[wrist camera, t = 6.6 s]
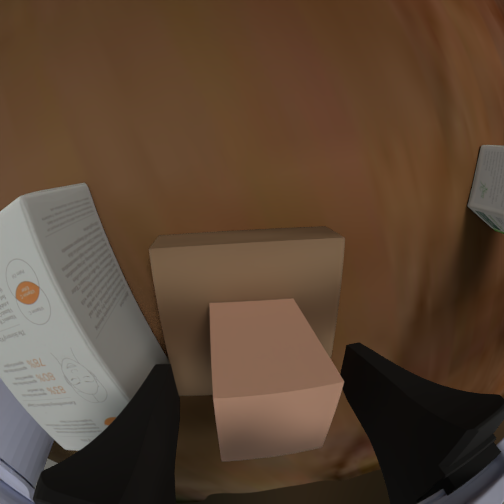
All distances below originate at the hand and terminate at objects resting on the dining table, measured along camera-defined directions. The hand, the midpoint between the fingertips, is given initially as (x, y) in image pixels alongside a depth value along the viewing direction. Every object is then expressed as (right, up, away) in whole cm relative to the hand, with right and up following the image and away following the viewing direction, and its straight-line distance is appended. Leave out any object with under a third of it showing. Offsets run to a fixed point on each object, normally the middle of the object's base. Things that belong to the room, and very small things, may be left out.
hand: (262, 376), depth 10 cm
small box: (-12, +7, -1) cm, 14 cm away
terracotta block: (0, +1, +3) cm, 3 cm away
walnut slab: (-1, +2, +6) cm, 6 cm away
